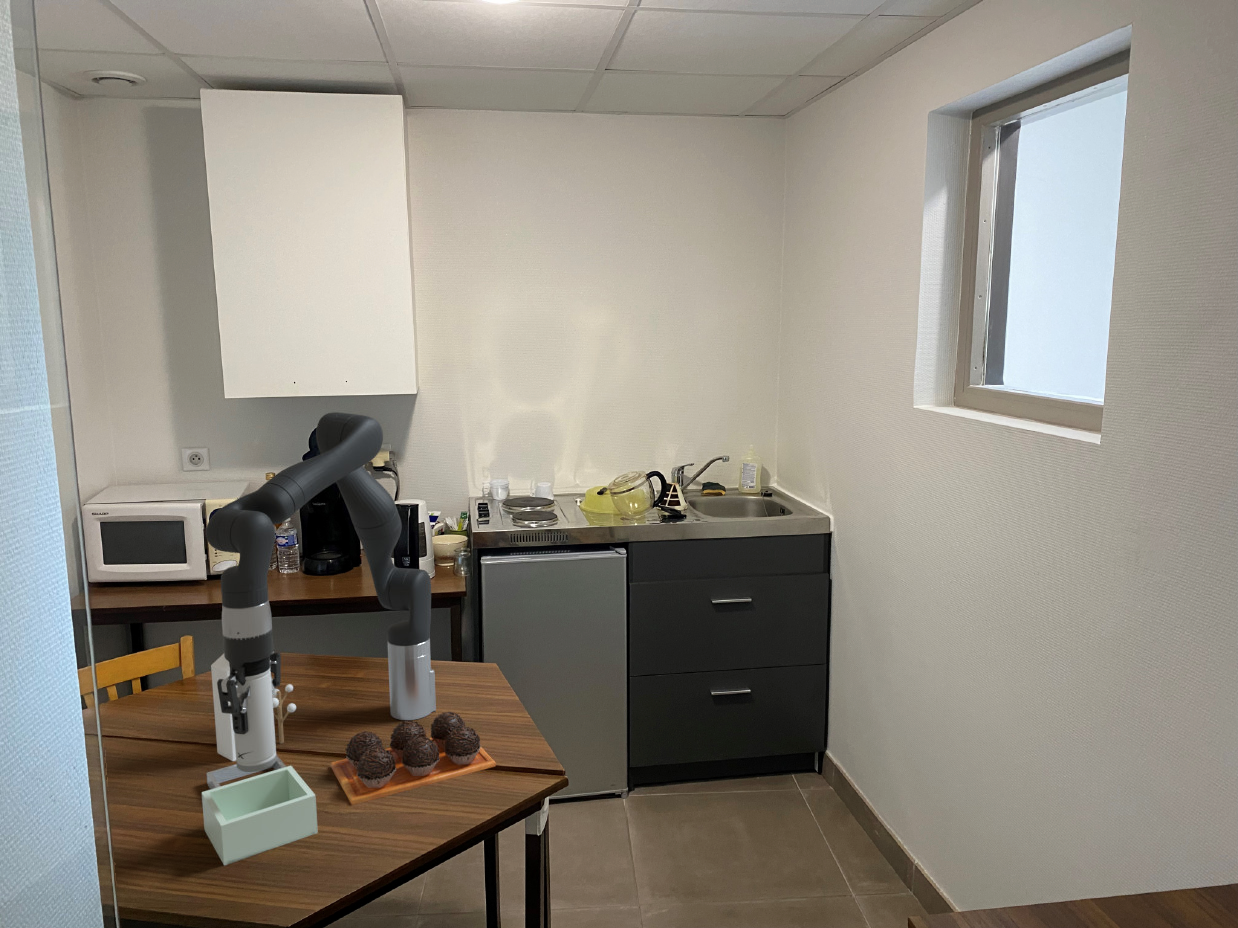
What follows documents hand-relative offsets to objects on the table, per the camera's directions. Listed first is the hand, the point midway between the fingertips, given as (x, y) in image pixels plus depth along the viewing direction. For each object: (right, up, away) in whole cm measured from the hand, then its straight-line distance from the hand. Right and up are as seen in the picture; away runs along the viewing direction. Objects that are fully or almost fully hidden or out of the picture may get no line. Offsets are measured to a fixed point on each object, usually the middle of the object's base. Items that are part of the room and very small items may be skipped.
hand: (254, 723), depth 146 cm
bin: (0, -20, +3) cm, 20 cm away
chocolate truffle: (+21, -17, +25) cm, 37 cm away
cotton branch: (-9, -15, +36) cm, 40 cm away
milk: (-16, -15, +32) cm, 39 cm away
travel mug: (0, -7, +1) cm, 7 cm away
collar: (-8, -17, +18) cm, 26 cm away
